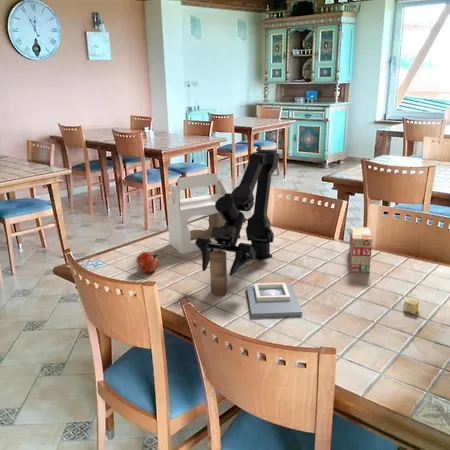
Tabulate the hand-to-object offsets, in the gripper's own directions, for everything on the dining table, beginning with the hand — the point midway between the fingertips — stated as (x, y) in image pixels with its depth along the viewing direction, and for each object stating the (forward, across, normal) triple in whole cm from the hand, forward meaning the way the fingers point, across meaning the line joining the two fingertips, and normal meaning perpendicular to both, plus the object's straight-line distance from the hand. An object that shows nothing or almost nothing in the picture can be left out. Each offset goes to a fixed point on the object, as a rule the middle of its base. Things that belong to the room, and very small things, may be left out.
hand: (216, 273), depth 139 cm
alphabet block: (-4, +54, +14) cm, 56 cm away
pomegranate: (+1, -30, +9) cm, 32 cm away
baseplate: (+4, +17, +6) cm, 19 cm away
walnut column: (+4, 0, +6) cm, 7 cm away
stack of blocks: (-26, +34, +36) cm, 56 cm away
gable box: (-22, -27, +32) cm, 47 cm away
